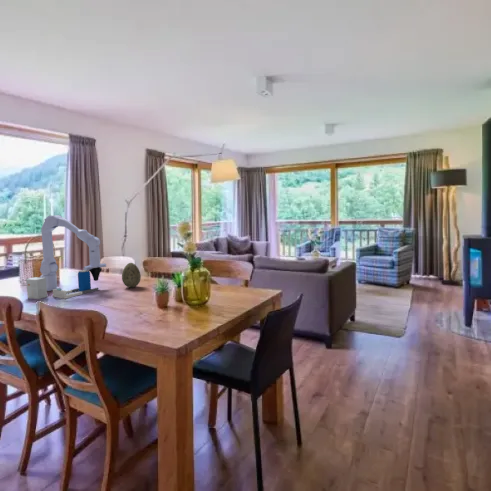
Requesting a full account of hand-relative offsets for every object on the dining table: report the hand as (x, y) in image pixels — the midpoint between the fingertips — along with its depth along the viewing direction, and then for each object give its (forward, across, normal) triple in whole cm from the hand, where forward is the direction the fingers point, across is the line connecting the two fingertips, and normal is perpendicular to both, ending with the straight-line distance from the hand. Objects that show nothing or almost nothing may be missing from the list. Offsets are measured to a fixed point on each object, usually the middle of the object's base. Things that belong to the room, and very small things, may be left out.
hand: (96, 280), depth 218 cm
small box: (+5, -30, +11) cm, 32 cm away
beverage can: (+5, -8, 0) cm, 9 cm away
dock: (+5, -14, 0) cm, 14 cm away
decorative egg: (+5, +12, -17) cm, 21 cm away
